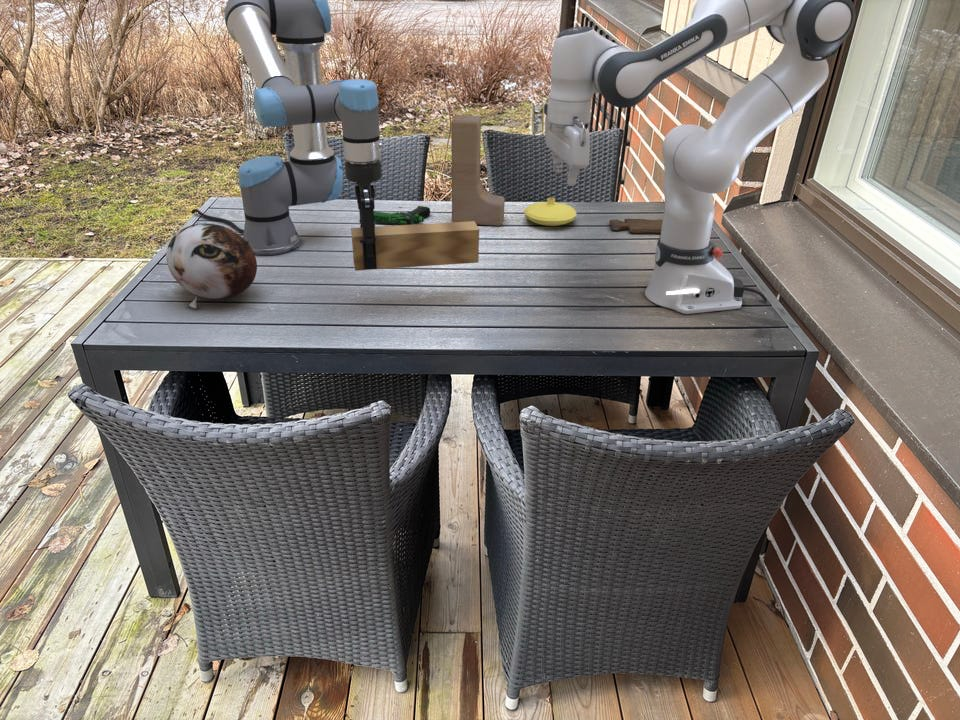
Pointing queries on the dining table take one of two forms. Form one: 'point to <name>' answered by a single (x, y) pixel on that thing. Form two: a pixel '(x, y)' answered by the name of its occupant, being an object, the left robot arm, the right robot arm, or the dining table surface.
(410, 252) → the bar
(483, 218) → the decorative block
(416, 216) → the handgun
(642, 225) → the dark wooden board
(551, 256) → the dining table surface
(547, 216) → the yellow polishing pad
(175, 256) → the cat face balloon
